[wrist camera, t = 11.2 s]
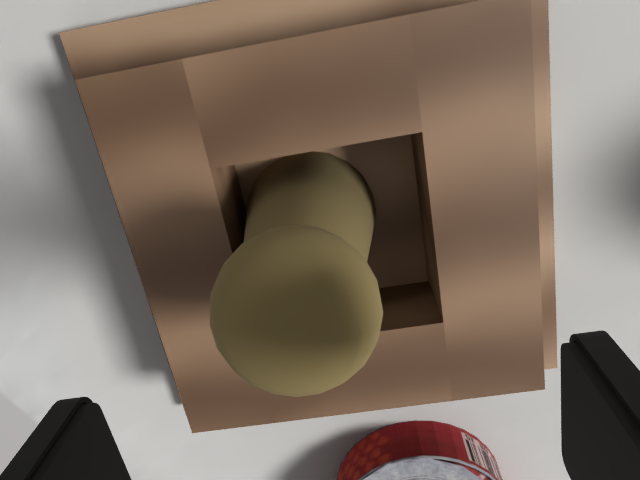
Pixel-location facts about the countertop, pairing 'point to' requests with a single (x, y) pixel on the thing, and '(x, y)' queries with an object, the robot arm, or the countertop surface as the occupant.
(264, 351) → the cork
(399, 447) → the canned food
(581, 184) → the countertop surface
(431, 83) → the post socket block
